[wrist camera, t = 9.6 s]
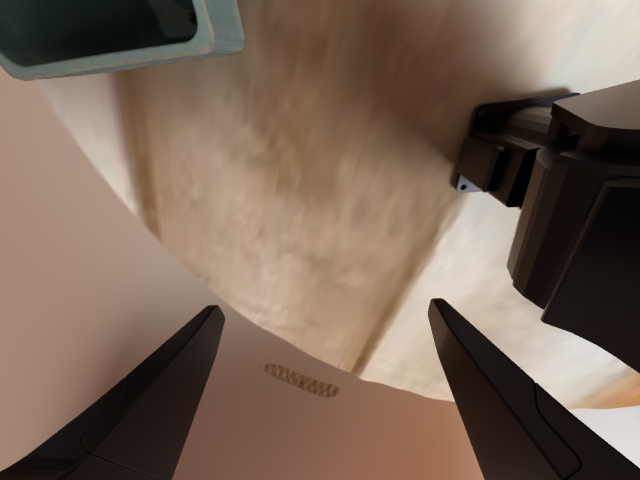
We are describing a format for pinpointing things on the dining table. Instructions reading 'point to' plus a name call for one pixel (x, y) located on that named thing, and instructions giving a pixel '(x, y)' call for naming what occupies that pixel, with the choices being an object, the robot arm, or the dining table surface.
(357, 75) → the dining table surface
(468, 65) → the dining table surface
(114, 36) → the flower pot
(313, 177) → the dining table surface
